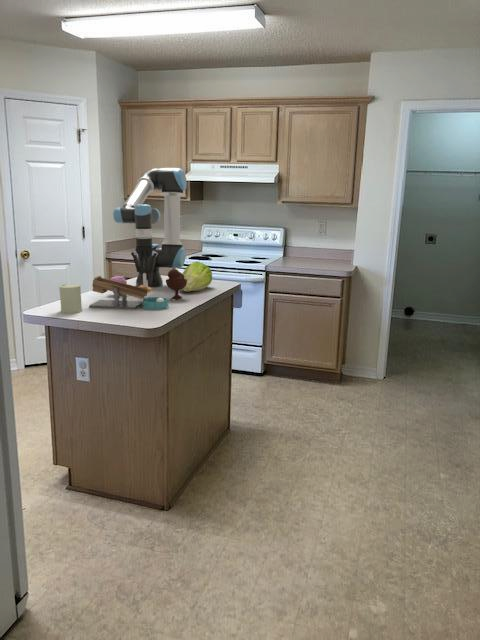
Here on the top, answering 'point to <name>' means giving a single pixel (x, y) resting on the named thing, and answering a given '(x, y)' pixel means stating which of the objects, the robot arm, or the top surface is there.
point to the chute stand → (116, 302)
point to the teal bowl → (154, 303)
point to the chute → (119, 287)
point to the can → (70, 298)
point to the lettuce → (197, 276)
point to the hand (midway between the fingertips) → (145, 286)
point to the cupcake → (119, 280)
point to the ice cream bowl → (176, 282)
